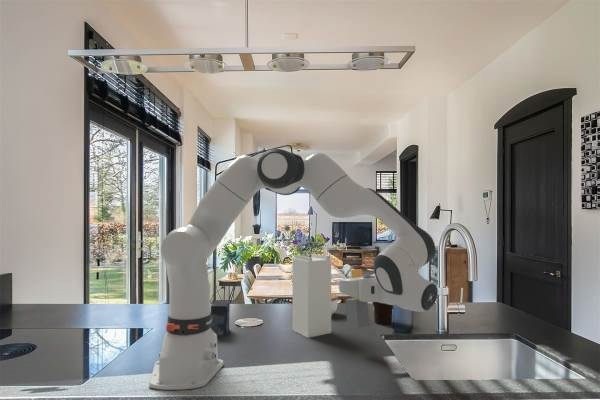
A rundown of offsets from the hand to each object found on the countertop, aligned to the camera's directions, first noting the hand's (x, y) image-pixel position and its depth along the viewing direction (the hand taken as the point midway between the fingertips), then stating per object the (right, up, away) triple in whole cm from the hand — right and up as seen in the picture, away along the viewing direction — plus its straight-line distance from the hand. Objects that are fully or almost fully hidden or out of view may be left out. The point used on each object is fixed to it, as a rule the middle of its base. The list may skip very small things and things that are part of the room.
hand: (353, 279), depth 126 cm
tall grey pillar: (-13, -22, +19) cm, 32 cm away
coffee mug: (+16, -23, +32) cm, 43 cm away
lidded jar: (-6, -23, +43) cm, 49 cm away
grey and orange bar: (+2, -5, -3) cm, 6 cm away
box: (-45, -22, +17) cm, 53 cm away
